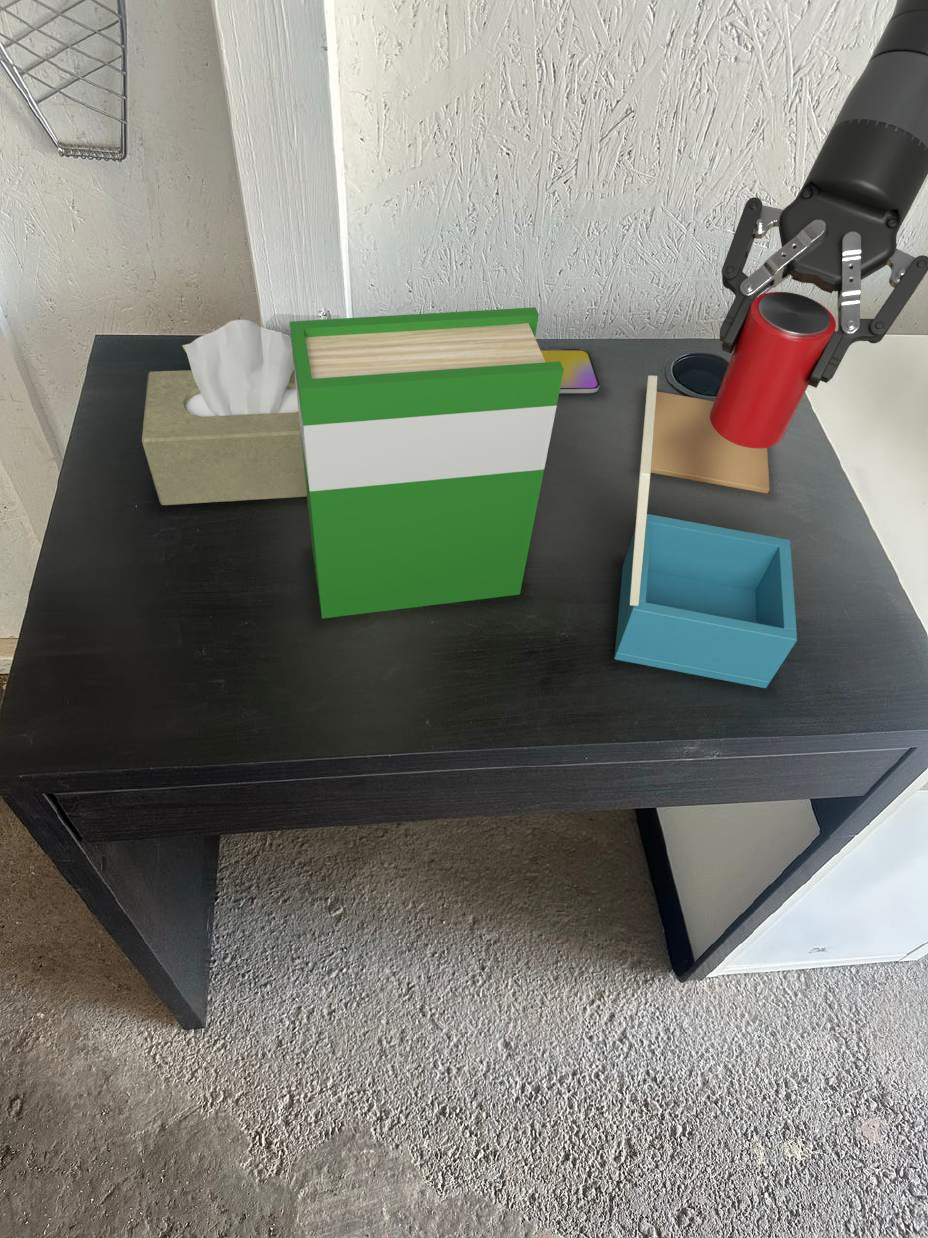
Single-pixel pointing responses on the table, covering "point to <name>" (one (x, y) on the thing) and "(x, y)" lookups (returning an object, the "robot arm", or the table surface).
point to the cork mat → (702, 447)
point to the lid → (643, 489)
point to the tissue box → (226, 420)
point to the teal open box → (709, 602)
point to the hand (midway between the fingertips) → (769, 366)
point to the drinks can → (770, 368)
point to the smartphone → (574, 370)
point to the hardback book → (422, 454)
